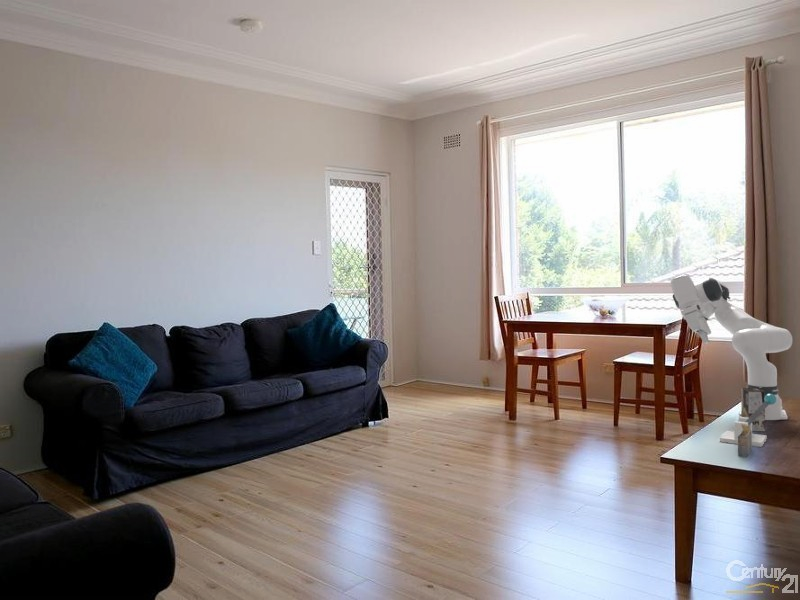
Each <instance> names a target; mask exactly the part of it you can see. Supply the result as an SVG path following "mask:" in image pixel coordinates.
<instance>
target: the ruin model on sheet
mask: <svg viewBox="0 0 800 600" xmlns="http://www.w3.org/2000/svg"><path fill="white" fill-rule="evenodd" d="M741 426H742V428H743V430H742V432H741V433H740V434H739V436H738V444H737V457H740V458H747V457H748V456H749V454H750V452H751V451H752V450H753V448H752V447H753V446H752V434H753V431H752V430H750V427H748V426H746V425H744V424H743V425H741Z"/></svg>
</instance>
